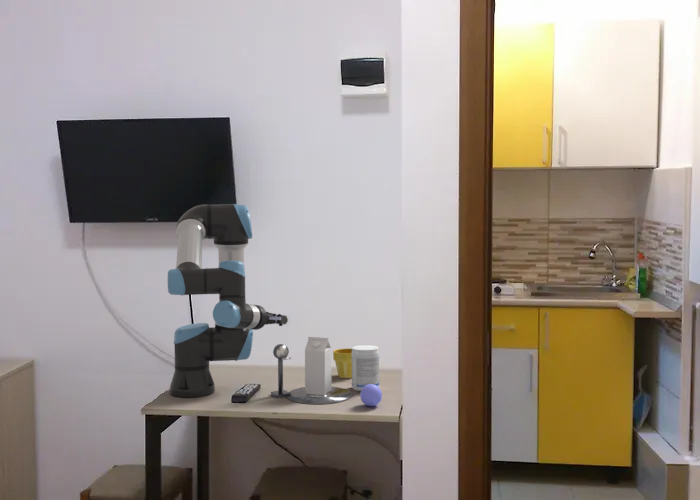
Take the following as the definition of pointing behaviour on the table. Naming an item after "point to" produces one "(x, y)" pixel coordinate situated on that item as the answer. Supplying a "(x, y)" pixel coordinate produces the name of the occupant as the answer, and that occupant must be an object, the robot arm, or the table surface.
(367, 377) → the supplement tub
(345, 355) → the plant pot
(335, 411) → the table surface
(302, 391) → the turntable
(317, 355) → the milk carton
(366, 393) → the sphere
